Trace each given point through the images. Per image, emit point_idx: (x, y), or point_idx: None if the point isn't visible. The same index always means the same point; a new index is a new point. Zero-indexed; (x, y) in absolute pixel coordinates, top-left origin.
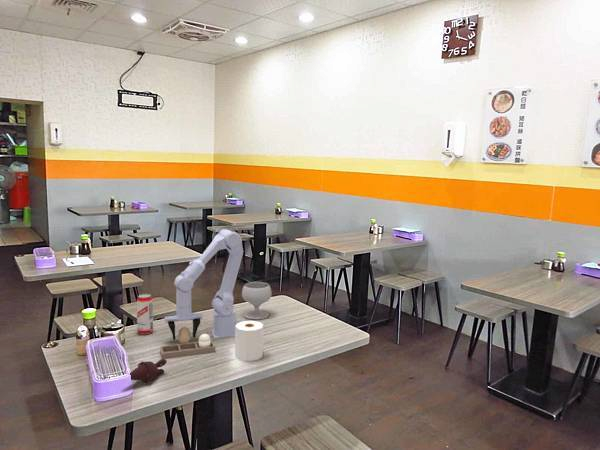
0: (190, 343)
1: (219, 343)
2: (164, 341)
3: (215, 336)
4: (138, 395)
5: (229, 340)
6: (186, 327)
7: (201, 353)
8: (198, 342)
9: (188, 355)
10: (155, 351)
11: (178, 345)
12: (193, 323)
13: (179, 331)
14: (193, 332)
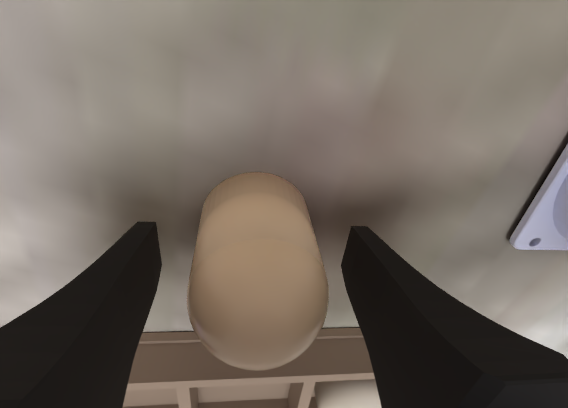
0: (274, 383)
1: (478, 306)
2: (41, 139)
3: (534, 228)
4: None
5: (562, 284)
6: (295, 350)
7: (312, 403)
8: (333, 380)
9: (239, 405)
10: (4, 311)
11: (181, 394)
12: (413, 390)
13: (195, 333)
14: (361, 295)
